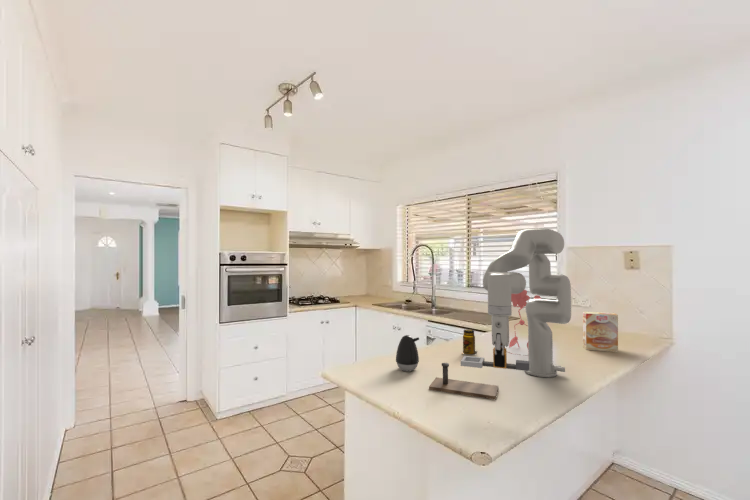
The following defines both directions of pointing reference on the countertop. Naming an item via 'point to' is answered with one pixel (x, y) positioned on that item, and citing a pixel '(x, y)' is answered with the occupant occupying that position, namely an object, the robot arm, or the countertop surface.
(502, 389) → the countertop surface
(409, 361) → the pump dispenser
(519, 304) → the red flower sprig
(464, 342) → the condiment
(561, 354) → the countertop surface
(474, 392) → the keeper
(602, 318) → the coffeecake box
